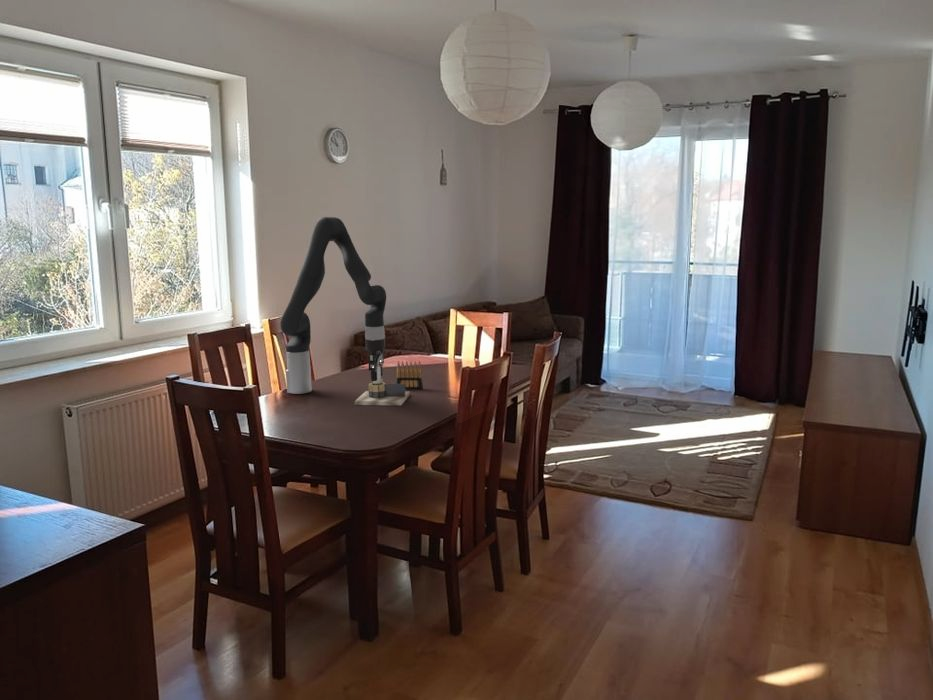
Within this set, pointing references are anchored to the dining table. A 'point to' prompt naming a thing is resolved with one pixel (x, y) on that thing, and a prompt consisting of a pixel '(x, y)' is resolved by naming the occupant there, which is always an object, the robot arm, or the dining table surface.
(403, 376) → the ammunition clip
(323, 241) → the robot arm
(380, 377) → the hinge pin
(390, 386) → the base plate with nut
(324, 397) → the dining table surface
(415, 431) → the dining table surface
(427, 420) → the dining table surface
